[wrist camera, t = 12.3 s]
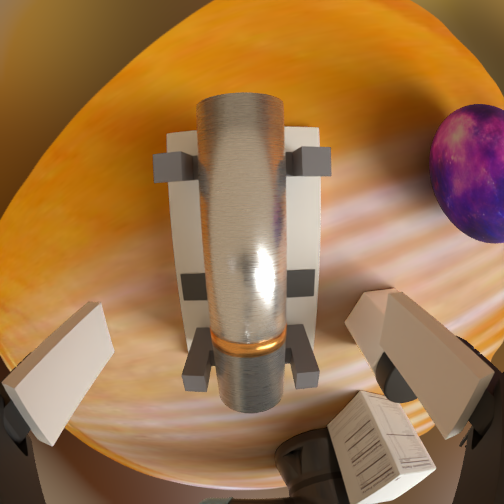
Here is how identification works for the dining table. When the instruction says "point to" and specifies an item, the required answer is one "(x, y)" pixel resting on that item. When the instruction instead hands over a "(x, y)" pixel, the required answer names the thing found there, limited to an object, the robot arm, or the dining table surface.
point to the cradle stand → (298, 250)
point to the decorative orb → (471, 171)
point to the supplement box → (377, 449)
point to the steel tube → (245, 244)
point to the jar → (377, 344)
